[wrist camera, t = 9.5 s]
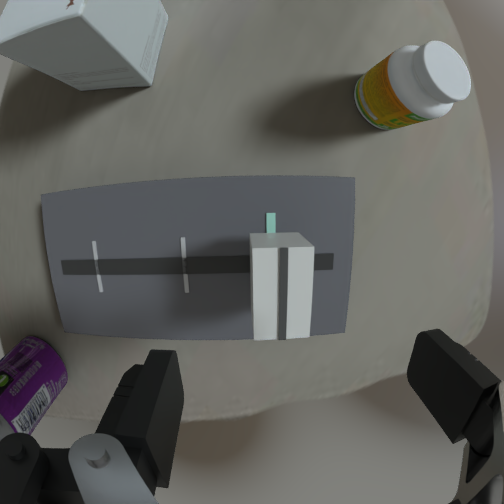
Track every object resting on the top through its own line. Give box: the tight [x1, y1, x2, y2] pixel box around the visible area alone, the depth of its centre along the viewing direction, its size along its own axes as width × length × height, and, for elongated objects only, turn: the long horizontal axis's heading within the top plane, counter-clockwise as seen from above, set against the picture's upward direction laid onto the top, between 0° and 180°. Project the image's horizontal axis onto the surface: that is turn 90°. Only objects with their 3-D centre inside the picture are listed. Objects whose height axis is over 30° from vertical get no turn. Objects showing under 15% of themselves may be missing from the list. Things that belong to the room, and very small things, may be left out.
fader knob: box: [250, 232, 314, 340], centre depth 17 cm, size 5×3×6 cm, turn 1°
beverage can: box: [0, 336, 68, 441], centre depth 19 cm, size 7×7×12 cm
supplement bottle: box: [354, 41, 471, 130], centre depth 16 cm, size 5×5×10 cm
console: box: [41, 176, 355, 340], centre depth 22 cm, size 12×24×3 cm, turn 91°
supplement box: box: [0, 0, 168, 91], centre depth 12 cm, size 7×7×13 cm
